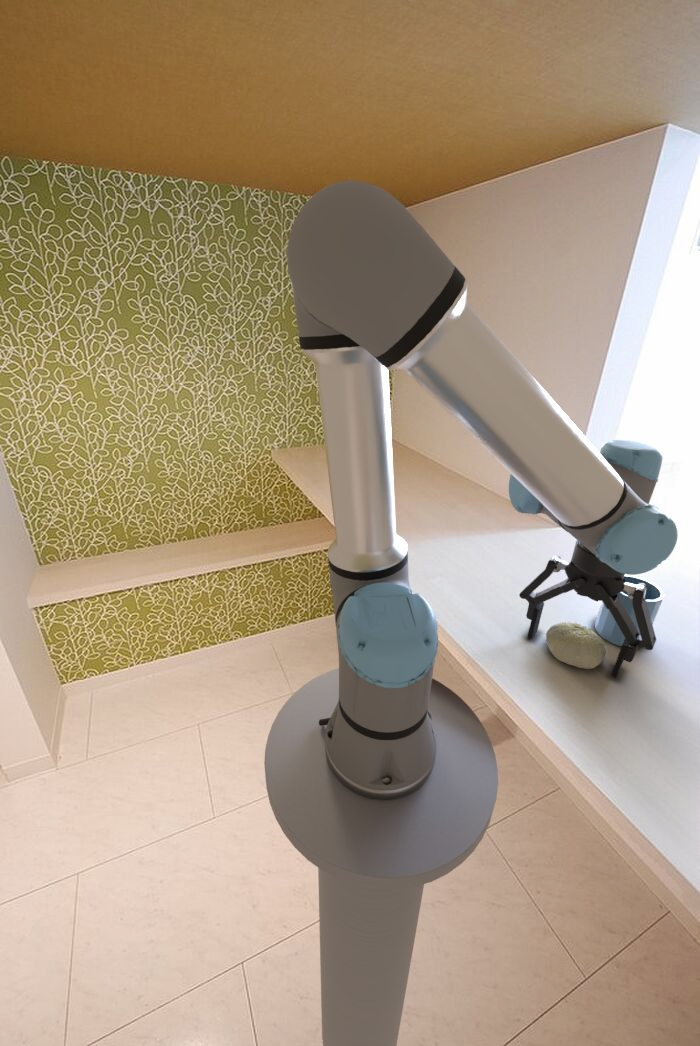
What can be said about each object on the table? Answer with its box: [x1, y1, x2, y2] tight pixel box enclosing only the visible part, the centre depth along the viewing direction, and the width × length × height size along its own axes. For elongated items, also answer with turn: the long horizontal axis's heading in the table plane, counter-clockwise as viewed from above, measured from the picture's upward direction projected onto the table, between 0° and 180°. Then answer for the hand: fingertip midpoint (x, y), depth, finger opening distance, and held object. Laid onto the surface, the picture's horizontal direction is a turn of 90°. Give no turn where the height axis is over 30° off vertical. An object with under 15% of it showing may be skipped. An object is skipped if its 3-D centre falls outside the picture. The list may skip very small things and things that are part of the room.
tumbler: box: [594, 574, 665, 647], centre depth 78 cm, size 8×8×10 cm
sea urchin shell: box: [545, 621, 607, 670], centre depth 74 cm, size 9×8×8 cm
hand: (571, 652), depth 75 cm, fingers open, 13 cm apart
